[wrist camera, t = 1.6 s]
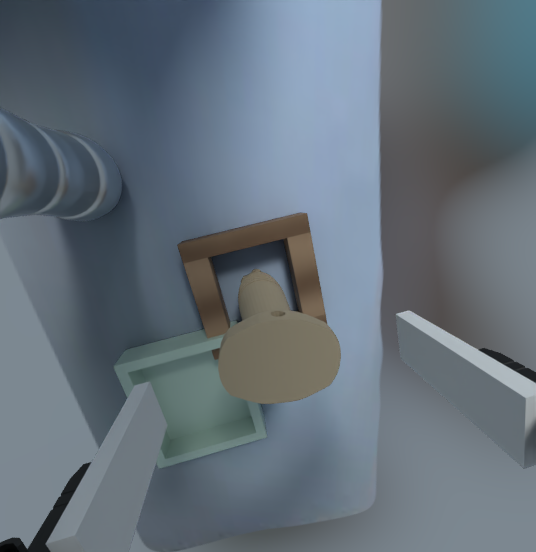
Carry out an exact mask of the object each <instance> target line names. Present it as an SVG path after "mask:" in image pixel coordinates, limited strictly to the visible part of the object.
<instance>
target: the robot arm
mask: <svg viewBox="0 0 536 552" xmlns="http://www.w3.org/2000/svg"><path fill="white" fill-rule="evenodd" d="M396 321H397V329H398V339H399V348H400V357H401V359H402V360H403V361H404V362H405V363H406V364H407V365H408V366H409V367H410V368H412V369H413V370H414V371H415V372H416V373H417V374H418V375H419V376H421V377H422V378H423V379H424V380H425V381H426V382H427V383H428V384H430V385H431V386H432V387H433V388H434V389H435V390H436V391H437V392H438V393H440V394H441V395H442V396H443V397H444V398H445V399H446V400H447V401H449V402H450V403H451V404H452V405H453V406H454V407H455V408H456V409H458V410H459V411H460V412H461V413H462V414H463V415H464V416H465V417H466V418H468V419H469V420H470V421H471V422H472V423H473V424H474V425H476V426H477V427H478V428H479V429H480V430H481V431H482V432H483V433H484V434H486V435H487V436H488V437H489V438H490V439H491V440H492V441H493V442H494V443H496V444H497V445H498V446H499V447H500V448H501V449H502V450H504V451H505V452H506V453H507V454H508V455H509V456H510V457H511V458H512V459H513V460H515V461H516V462H517V463H518V464H519V465H520V466H521V467H522V468H524V469H525V468H527V467H531V466H534V465H536V372H534V371H532V370H531V369H529V368H525V366H523V365H521V364H519V363H518V362H514V361H513V360H512V359H510V358H508V357H506V356H505V355H503V354H501V353H498V352H495V351H492V350H488V349H485V348H482V349H479V350H477V349H475V348H474V347H472V346H470V345H468V344H467V343H465V342H463V341H462V340H460V339H458V338H456V337H454V336H453V335H451V334H449V333H447V332H446V331H444V330H442V329H441V328H439V327H437V326H435V325H434V324H432V323H430V322H428V321H427V320H425V319H423V318H421V317H419V316H418V315H416V314H415V313H413V312H411V311H405V312H402V313H398V314H396ZM166 429H167V423H166V420H165V418H164V415H163V413H162V410H161V408H160V405H159V403H158V400H157V398H156V395H155V393H154V390H153V388H152V385H151V383H150V381H149V382H146V383H142V384H138V385H135V386H134V388H133V389H132V391H131V393H130V395H129V396H128V398H127V400H126V402H125V404H124V405H123V407H122V409H121V411H120V412H119V414H118V416H117V418H116V420H115V421H114V423H113V425H112V427H111V428H110V430H109V432H108V434H107V436H106V437H105V439H104V441H103V443H102V445H101V446H100V448H99V450H98V452H97V453H96V455H95V457H94V459H93V461H92V462H90V463H86V464H83V465H82V467H81V468H80V469H79V470H78V471H77V472H76V473H75V474H74V475H73V476H72V477H71V479H70V480H69V482H68V483H67V485H66V487H65V488H64V490H63V492H62V493H61V497H59V498H58V500H57V501H56V503H55V505H54V507H53V510H51V511H50V513H49V515H48V516H47V518H46V520H45V521H44V523H43V524H42V526H41V528H40V530H39V531H38V533H37V535H36V536H35V538H34V539H33V541H32V543H31V544H30V546H29V548H28V549H27V548H26V547H25V545H24V544H23V542H22V541H21V539H20V538H10V539H8V540H5V541H3V542H1V543H0V552H129V549H130V546H131V543H132V540H133V536H134V533H135V530H136V527H137V523H138V520H139V517H140V514H141V510H142V507H143V504H144V501H145V497H146V494H147V491H148V487H149V484H150V481H151V478H152V474H153V471H154V468H155V465H156V461H157V458H158V455H159V451H160V448H161V445H162V442H163V438H164V435H165V432H166Z"/></svg>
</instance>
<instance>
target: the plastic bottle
mask: <svg viewBox="0 0 536 552" xmlns="http://www.w3.org/2000/svg"><path fill="white" fill-rule="evenodd" d="M121 192H122V180H121V174H120V172H119V169H118V167H117V165H116V163H115V162H114V160H113V159H112V157H111V156H110V155H109V154H108V153H107V152H106V151H105V150H104V149H103V148H102V147H100V146H99V145H98V144H97V143H96V142H94V141H93V140H91V139H89V138H87V137H85V136H82V135H80V134H76V133H72V132H68V131H62V130H53V129H49V128H46V127H43V126H39V125H36V124H33V123H30V122H28V121H26V120H24V119H22V118H20V117H18V116H16V115H14V114H12V113H10V112H8V111H6V110H4V109H2V108H0V219H2V218H9V217H18V216H27V215H43V216H55V217H58V218H61V219H66V220H73V221H81V222H82V221H91V220H94V219H97V218H99V217H101V216H103V215H105V214H107V213H109V212H110V211H111V210H112V209H113V208H114V207H115V206H116V205H117V203H118V201H119V199H120V196H121Z"/></svg>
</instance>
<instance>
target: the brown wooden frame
mask: <svg viewBox="0 0 536 552" xmlns="http://www.w3.org/2000/svg"><path fill="white" fill-rule="evenodd" d="M281 239H283V240H284V245H285V250H286V254H287V259H288V264H289V269H290V273H291V278H292V283H293V287H294V292H295V297H296V301H297V306H298V311H296V312H300V313H303V314H306V315H309V316H312V317H314V318H317V319H319V320H321V321H323V322H325V323H326V324H327V320H326V315H325V309H324V304H323V298H322V293H321V287H320V282H319V276H318V271H317V265H316V260H315V254H314V249H313V244H312V238H311V233H310V227H309V222H308V216H307V213H297V214H293V215H289V216H285V217H280V218H276V219H272V220H268V221H264V222H260V223H256V224H252V225H248V226H243V227H239V228H235V229H231V230H227V231H223V232H219V233H215V234H210V235H206V236H202V237H198V238H194V239H190V240H186V241H182V242H181V243H179V244H178V245H177V246H178V249H179V252H180V255H181V258H182V261H183V264H184V267H185V270H186V273H187V277H188V280H189V283H190V286H191V289H192V292H193V295H194V298H195V301H196V304H197V307H198V310H199V314H200V317H201V320H202V323H203V326H204V329H205V332H206V335H207V338H211V337H215V336H219V335H223V334H225V333H226V332H227V330H228V329H229V328H230V320H229V316H228V313H227V310H226V306H225V303H224V299H223V296H222V292H221V289H220V286H219V282H218V279H217V275H216V272H215V269H214V265H213V262H212V258H211V257H212V256H216V255H220V254H224V253H228V252H232V251H236V250H240V249H245V248H249V247H253V246H257V245H261V244H265V243H269V242H273V241H277V240H281ZM219 350H220V348H217V349H213V350H211V351H212V354H213V357H214V360H217V359H218V358H219Z"/></svg>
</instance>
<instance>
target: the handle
mask: <svg viewBox="0 0 536 552" xmlns="http://www.w3.org/2000/svg"><path fill="white" fill-rule="evenodd" d="M238 303H239V309H240V313H241V317H242V321H241V322H239V323H237V324H236V325H234V326H232V327H231V328H229V329H228V330H227V332H226V333H225V335H224V337H223V339H222V341H221V345H220V350H219V358H218V371H219V376H220V380H221V382H222V385H223V387H224V388H225V389H226V391H227V392H228V393H229V394H230V395H231V396H234V397H237V398H241V399H244V400H247V401H251V402H255V403H261V404H274V403H284V402H292V401H297V400H301V399H303V398H306V397H308V396H310V395H312V394H314V393H316V392H318V391H320V390H322V389H324V388H326V387H327V386H329V385H330V384H331V383H332V382H333V380H334V378H335V377H336V375H337V373H338V369H339V366H340V359H341V353H340V345H339V341H338V339H337V337H336V335H335V334H334V332H333V331H332V330H331V328H330V327H329V326H328V325H327V324H326V323H325V322H323V321H321V320H319V319H317V318H314V317H312V316H309V315H306V314H303V313H300V312H296V311H290V308H289V305H288V303H287V300H286V297H285V294H284V292H283V290H282V289H281V287H280V285H279V284H278V283H277V282H276V281H275V280H274V279H273V278H272V277H271V276H270V275H268V274H266V273H264V272H261V271H260V270H259V269H254V270H253V271H252V272H251V273H250V274H248V275H246V276H243V278H242V280H241V285H240V288H239V294H238Z"/></svg>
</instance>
